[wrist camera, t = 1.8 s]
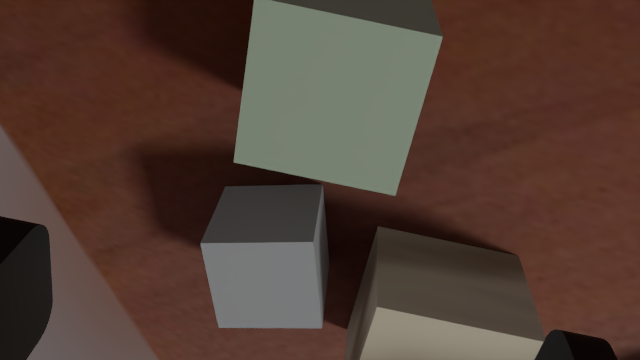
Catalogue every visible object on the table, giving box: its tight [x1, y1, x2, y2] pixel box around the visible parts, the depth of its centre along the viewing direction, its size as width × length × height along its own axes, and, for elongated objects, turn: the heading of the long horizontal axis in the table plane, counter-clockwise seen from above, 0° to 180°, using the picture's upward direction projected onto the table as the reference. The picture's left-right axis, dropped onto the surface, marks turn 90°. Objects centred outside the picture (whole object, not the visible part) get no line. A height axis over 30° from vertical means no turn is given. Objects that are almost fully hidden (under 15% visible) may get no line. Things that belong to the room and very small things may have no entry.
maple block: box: [345, 226, 546, 360], centre depth 24 cm, size 6×6×5 cm
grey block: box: [200, 184, 330, 328], centre depth 23 cm, size 4×4×4 cm
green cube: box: [234, 0, 443, 196], centre depth 19 cm, size 5×5×5 cm
